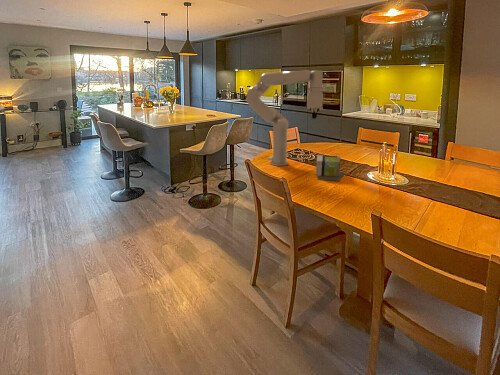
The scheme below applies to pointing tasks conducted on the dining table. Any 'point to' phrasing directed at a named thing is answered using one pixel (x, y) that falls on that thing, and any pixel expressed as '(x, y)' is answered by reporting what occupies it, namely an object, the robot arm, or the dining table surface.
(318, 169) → the tea box
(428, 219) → the dining table surface
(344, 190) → the dining table surface
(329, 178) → the display board
